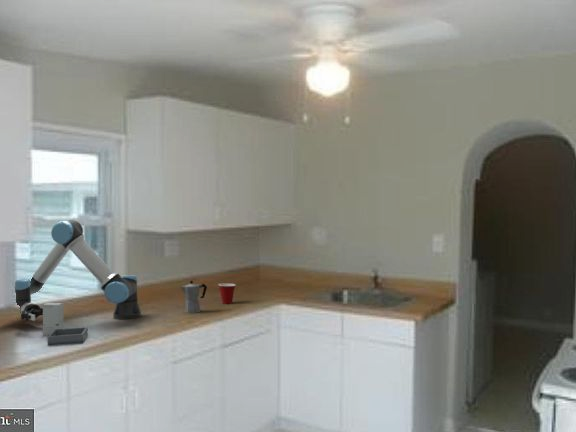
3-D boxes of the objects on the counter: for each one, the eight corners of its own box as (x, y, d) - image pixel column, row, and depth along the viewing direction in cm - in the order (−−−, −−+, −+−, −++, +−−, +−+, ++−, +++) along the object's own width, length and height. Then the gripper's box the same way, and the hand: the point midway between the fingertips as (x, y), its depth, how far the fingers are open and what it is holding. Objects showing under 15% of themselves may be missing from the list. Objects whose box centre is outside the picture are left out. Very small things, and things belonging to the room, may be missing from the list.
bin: (87, 335, 279) (87, 327, 279) (83, 342, 264) (82, 334, 264) (54, 337, 276) (54, 329, 276) (47, 345, 261) (47, 336, 261)
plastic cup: (238, 303, 353) (238, 284, 352) (221, 305, 349) (220, 285, 348) (233, 301, 363) (233, 282, 362) (216, 302, 359) (216, 283, 358)
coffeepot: (182, 314, 325) (181, 282, 324) (179, 311, 334) (178, 280, 333) (209, 311, 330) (208, 280, 330) (205, 309, 339) (204, 278, 339)
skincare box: (42, 334, 283) (41, 304, 283) (47, 332, 289) (46, 302, 289) (59, 334, 283) (58, 304, 283) (64, 331, 289) (63, 302, 289)
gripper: (54, 313, 312) (72, 318, 297) (6, 321, 294) (22, 327, 279) (54, 300, 312) (72, 304, 297) (5, 307, 294) (22, 312, 279)
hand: (48, 315), depth 288 cm, fingers open, 13 cm apart
